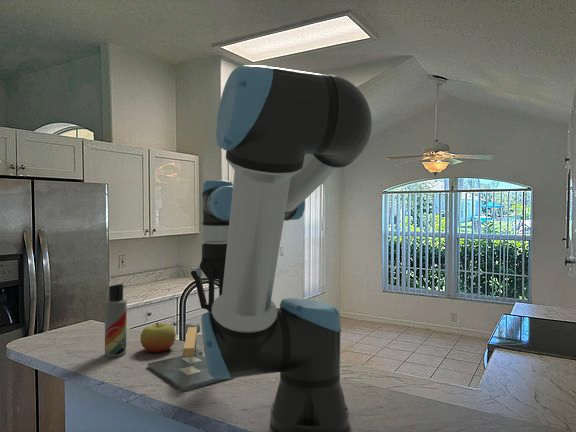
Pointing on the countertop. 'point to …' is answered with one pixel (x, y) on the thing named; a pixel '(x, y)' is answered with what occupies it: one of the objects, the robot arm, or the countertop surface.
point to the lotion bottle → (115, 322)
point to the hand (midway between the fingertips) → (216, 336)
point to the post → (196, 351)
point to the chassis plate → (184, 371)
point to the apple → (158, 337)
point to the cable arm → (191, 338)
